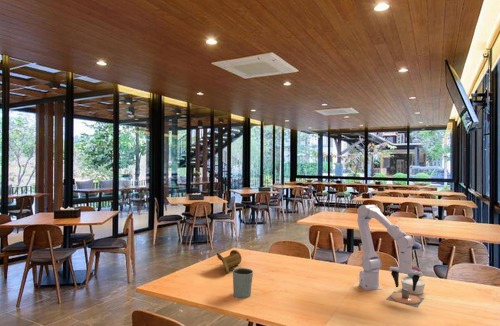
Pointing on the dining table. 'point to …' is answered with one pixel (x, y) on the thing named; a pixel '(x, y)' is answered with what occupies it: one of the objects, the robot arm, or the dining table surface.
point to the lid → (405, 297)
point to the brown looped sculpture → (230, 259)
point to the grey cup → (242, 282)
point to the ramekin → (409, 285)
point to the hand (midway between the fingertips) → (405, 288)
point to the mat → (404, 303)
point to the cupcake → (414, 269)
